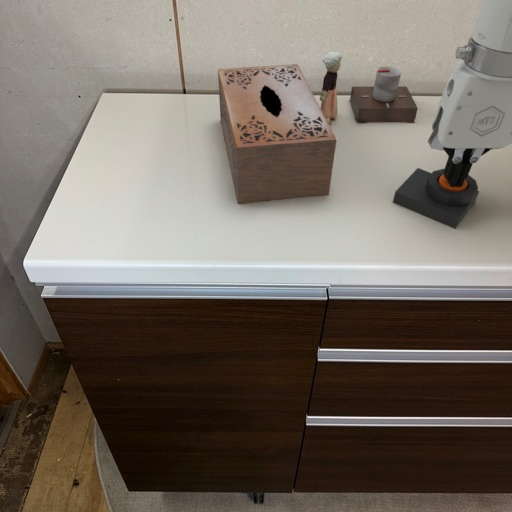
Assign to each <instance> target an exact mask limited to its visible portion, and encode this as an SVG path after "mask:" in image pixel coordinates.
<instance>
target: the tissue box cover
mask: <svg viewBox="0 0 512 512" xmlns="http://www.w3.org/2000/svg"><path fill="white" fill-rule="evenodd" d="M217 75H218V76H217V79H218V97H219V98H218V99H219V100H218V101H219V115H220V118H219V119H220V125H221V129H222V134H223V139H224V144H225V149H226V154H227V158H228V159H227V160H228V163H229V169H230V173H231V177H232V182H233V188H234V192H235V196H236V198H235V199H236V202H237V205H242V204H251V203H252V204H254V203H263V202H271V201H280V200H289V199H290V200H291V199H300V198H310V197H321V196H330V189H331V181H332V175H333V167H334V160H335V153H336V148H337V147H336V146H337V137H336V136H335V133H334V131H333V130H332V128H331V126H330V125H329V124H328V122H327V120H326V118H325V116H324V114H323V112H322V110H321V106H320V104H319V102H318V101H317V99H316V97H315V95H314V93H313V91H312V90H311V87H310V85H309V83H308V81H307V80H306V77H305V76H304V74H303V71H302V70H301V68H300V66H299V65H298V63H295V64H294V63H293V64H280V65H277V64H276V65H263V66H262V65H261V66H245V67H232V68H231V67H230V68H218V69H217Z"/></svg>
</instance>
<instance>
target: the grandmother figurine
mask: <svg viewBox="0 0 512 512" xmlns="http://www.w3.org/2000/svg"><path fill="white" fill-rule="evenodd" d="M342 59H343V55H342V54H341V53H340V52H337V51H330V52H327V54H326V55H325V56H324V58H323V59H322V63H324V66H325V69H326V73H325V75H324V76H323V82H322V87H321V92H320V96H319V101H321V103H320V108H321V110H322V112H323V114H324V116H325V118H326V120H327V122H328V124H329V126H330V125H331V124H332V119H334V118H335V117H337V116H338V93H337V81H338V71H339V70H340V68H341V61H342Z"/></svg>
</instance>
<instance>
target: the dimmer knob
mask: <svg viewBox="0 0 512 512" xmlns="http://www.w3.org/2000/svg"><path fill="white" fill-rule="evenodd" d="M401 77H402V71H401V69H399V68H397V67H394V66H380V67H378V68H377V69H376V74H375V79H374V84H373V87H374V90H373V98H374V99H376V100H378V101H382V102H390V101H393V100H395V98H396V94H397V89H398V87H399V85H400V80H401Z"/></svg>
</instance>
